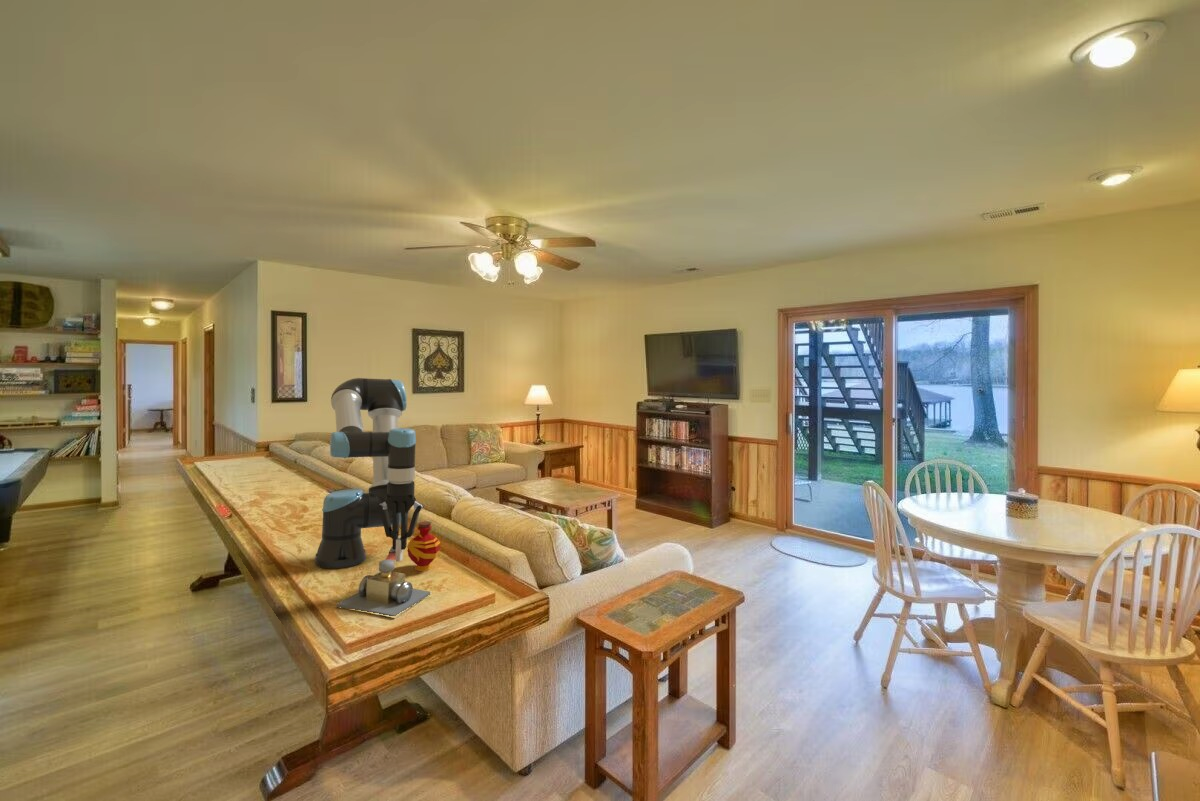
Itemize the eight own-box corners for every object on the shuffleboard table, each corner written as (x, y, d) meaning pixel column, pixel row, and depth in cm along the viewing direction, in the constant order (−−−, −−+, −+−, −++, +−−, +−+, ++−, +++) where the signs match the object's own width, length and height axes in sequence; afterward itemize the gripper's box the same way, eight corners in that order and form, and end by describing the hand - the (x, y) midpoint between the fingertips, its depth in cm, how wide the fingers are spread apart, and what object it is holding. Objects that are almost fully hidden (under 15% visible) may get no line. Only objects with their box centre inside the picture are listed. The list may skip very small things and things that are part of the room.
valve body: (355, 601, 141) (356, 571, 141) (372, 591, 148) (373, 562, 148) (398, 609, 138) (400, 579, 137) (414, 599, 144) (416, 570, 144)
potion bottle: (405, 563, 171) (407, 519, 170) (437, 561, 175) (439, 517, 175) (406, 575, 161) (408, 528, 161) (440, 572, 166) (442, 526, 165)
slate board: (336, 607, 137) (337, 603, 137) (377, 585, 153) (377, 582, 153) (394, 619, 133) (394, 615, 133) (430, 595, 148) (430, 591, 148)
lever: (392, 571, 141) (393, 564, 141) (377, 572, 140) (377, 565, 140) (402, 552, 157) (403, 545, 157) (388, 552, 156) (389, 545, 156)
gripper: (426, 479, 155) (424, 555, 156) (382, 478, 154) (381, 555, 155) (420, 484, 148) (418, 564, 148) (374, 483, 146) (372, 564, 147)
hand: (399, 559), depth 152 cm, fingers closed
